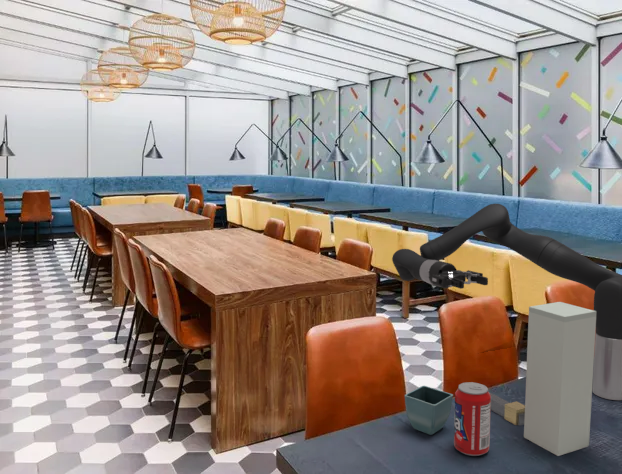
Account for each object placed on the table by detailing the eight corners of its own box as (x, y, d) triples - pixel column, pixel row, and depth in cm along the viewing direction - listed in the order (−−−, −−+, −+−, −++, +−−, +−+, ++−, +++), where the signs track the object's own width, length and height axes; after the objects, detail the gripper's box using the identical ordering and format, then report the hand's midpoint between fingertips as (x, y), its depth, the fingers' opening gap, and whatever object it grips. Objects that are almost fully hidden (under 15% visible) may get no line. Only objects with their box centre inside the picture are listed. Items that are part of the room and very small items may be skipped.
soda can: (487, 461, 128) (489, 396, 126) (451, 454, 131) (452, 391, 129) (490, 445, 135) (492, 383, 133) (456, 439, 138) (457, 378, 136)
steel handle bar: (478, 395, 163) (478, 382, 163) (529, 423, 146) (530, 408, 146) (467, 398, 162) (467, 384, 161) (517, 426, 145) (517, 411, 144)
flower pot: (453, 428, 144) (454, 394, 142) (434, 441, 137) (435, 405, 136) (422, 418, 150) (423, 384, 148) (403, 430, 143) (403, 395, 142)
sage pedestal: (553, 428, 143) (559, 301, 139) (588, 446, 134) (596, 311, 130) (523, 437, 139) (529, 306, 134) (558, 456, 130) (564, 316, 125)
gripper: (456, 283, 178) (494, 293, 164) (418, 288, 172) (454, 299, 158) (456, 259, 177) (495, 267, 163) (418, 263, 171) (454, 272, 157)
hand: (475, 283), depth 160 cm, fingers open, 8 cm apart
